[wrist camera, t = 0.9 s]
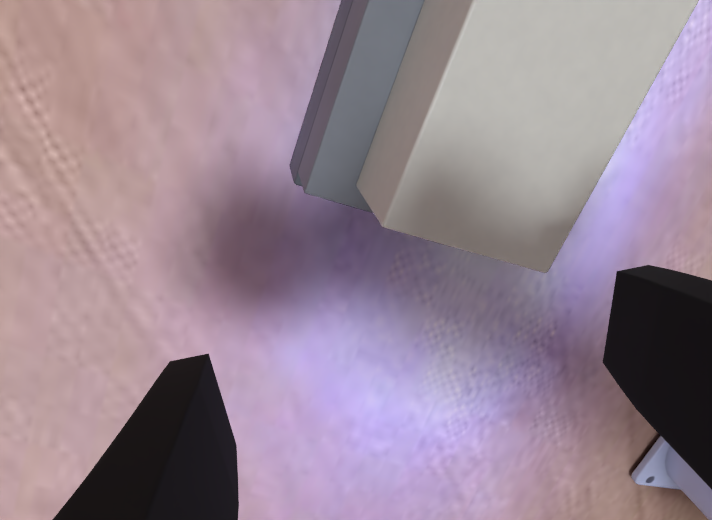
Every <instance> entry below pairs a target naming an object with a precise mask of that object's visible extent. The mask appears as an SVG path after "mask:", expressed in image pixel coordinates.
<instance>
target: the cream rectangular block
mask: <svg viewBox="0 0 712 520" xmlns="http://www.w3.org/2000/svg"><path fill="white" fill-rule="evenodd" d="M698 1H699V0H425V1H424V3H423V6H422V9H421V12H420V14H419V17H418V20H417V22H416V25H415V28H414V30H413V33H412V36H411V39H410V41H409V44H408V47H407V49H406V52H405V55H404V57H403V60H402V63H401V65H400V68H399V71H398V74H397V76H396V79H395V82H394V84H393V87H392V90H391V92H390V95H389V98H388V101H387V103H386V106H385V109H384V111H383V114H382V117H381V119H380V122H379V125H378V127H377V130H376V133H375V136H374V138H373V141H372V144H371V146H370V149H369V152H368V154H367V157H366V160H365V163H364V165H363V168H362V171H361V173H360V176H359V179H358V181H357V184H356V186H357V188H358V189H359V191H360V193H361V194H362V196H363V197H364V199H365V200H366V202H367V204H368V205H369V207H370V208H371V210H372V211H373V213H374V215H375V216H376V218H377V219H378V221H379V223H380V224H381V226H382V227H383V228H387V229H390V230H394V231H397V232H401V233H404V234H408V235H411V236H415V237H419V238H422V239H426V240H429V241H433V242H436V243H440V244H443V245H447V246H451V247H454V248H458V249H461V250H465V251H468V252H472V253H475V254H479V255H483V256H486V257H490V258H493V259H497V260H500V261H504V262H507V263H511V264H515V265H518V266H522V267H525V268H529V269H532V270H536V271H539V272H543V273H547V272H548V270H549V268H550V267H551V265H552V263H553V261H554V259H555V258H556V256H557V254H558V252H559V250H560V249H561V247H562V245H563V243H564V241H565V240H566V238H567V236H568V234H569V232H570V231H571V229H572V227H573V225H574V224H575V222H576V220H577V218H578V216H579V215H580V213H581V211H582V209H583V207H584V206H585V204H586V202H587V200H588V198H589V197H590V195H591V193H592V191H593V189H594V188H595V186H596V184H597V182H598V180H599V179H600V177H601V175H602V173H603V171H604V170H605V168H606V166H607V164H608V163H609V161H610V159H611V157H612V155H613V154H614V152H615V150H616V148H617V146H618V145H619V143H620V141H621V139H622V137H623V136H624V134H625V132H626V130H627V128H628V127H629V125H630V123H631V121H632V119H633V118H634V116H635V114H636V112H637V110H638V109H639V107H640V105H641V103H642V101H643V100H644V98H645V96H646V94H647V93H648V91H649V89H650V87H651V85H652V84H653V82H654V80H655V78H656V76H657V75H658V73H659V71H660V69H661V67H662V66H663V64H664V62H665V60H666V58H667V57H668V55H669V53H670V51H671V49H672V48H673V46H674V44H675V42H676V40H677V39H678V37H679V35H680V33H681V32H682V30H683V28H684V26H685V24H686V23H687V21H688V19H689V17H690V15H691V14H692V12H693V10H694V8H695V6H696V5H697V3H698Z"/></svg>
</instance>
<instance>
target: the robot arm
mask: <svg viewBox="0 0 712 520" xmlns="http://www.w3.org/2000/svg"><path fill="white" fill-rule="evenodd" d="M603 363H604V365H605V366H606V368H607V369H608V370H609V372H610V373H611V375H612V376H613V378H614V379H615V381H616V382H617V384H618V385H619V386H620V388H621V389H622V391H623V392H624V393H625V394H626V396H627V397H628V398H629V400H630V401H631V402H632V404H633V405H634V406H635V408H636V409H637V410H638V411H639V412H640V414H641V415H642V416H643V417H644V418H645V419H646V420H647V421H648V422H649V423H650V425H651V426H652V427H653V428H654V429H655V430H656V431H657V432H658V433H659V434H660V435H661V436H660V437H659V438H658V440H657V441H656V442H655V444H654V445H653V446H652V448H651V449H650V450H649V452H648V453H647V454H646V456H645V457H644V458H643V460H642V461H641V462H640V464H639V465H638V466H637V468H636V469H635V470H634V472H633V473H632V477H631V478H632V479H633V480H634V482H635V483H636V484H639V485H647V486H656V487H664V488H672V489H680V490H682V491H683V492H684V493H685V494H686V495H687V496H688V498H689V499H690V500H691V501H692V502H693V503H694V504H695V505H696V506H697V507H698V508H699V510H700V511H701V512H702V513H703V514H704V515H705V516H706V517H707V518H708V519H709V520H712V281H711V280H708V279H704V278H700V277H697V276H693V275H689V274H686V273H682V272H678V271H674V270H669V269H665V268H660V267H655V266H650V265H646V266H642V267H637V268H632V269H627V270H622V271H617V275H616V281H615V287H614V294H613V300H612V307H611V313H610V319H609V326H608V332H607V339H606V345H605V351H604V358H603ZM238 506H239V502H238V472H237V450H236V442H235V439H234V436H233V433H232V429H231V426H230V423H229V419H228V416H227V413H226V410H225V406H224V403H223V400H222V396H221V393H220V390H219V387H218V383H217V380H216V377H215V373H214V370H213V367H212V364H211V360H210V357H209V354H205V355H200V356H195V357H190V358H185V359H180V360H175V361H170V362H169V364H168V365H167V366H166V368H165V369H164V370H163V372H162V373H161V374H160V376H159V377H158V378H157V380H156V381H155V383H154V384H153V386H152V387H151V388H150V390H149V391H148V393H147V394H146V396H145V397H144V398H143V400H142V401H141V403H140V404H139V406H138V407H137V409H136V410H135V411H134V413H133V414H132V416H131V417H130V418H129V420H128V421H127V423H126V424H125V426H124V427H123V428H122V430H121V431H120V433H119V434H118V435H117V437H116V438H115V439H114V441H113V442H112V443H111V445H110V446H109V447H108V449H107V450H106V452H105V453H104V454H103V456H102V457H101V458H100V460H99V461H98V462H97V464H96V465H95V466H94V468H93V469H92V471H91V472H90V473H89V475H88V476H87V477H86V478H85V480H84V481H83V482H82V484H81V485H80V486H79V488H78V489H77V490H76V491H75V493H74V494H73V495H72V496H71V498H70V499H69V500H68V501H67V503H66V504H65V505H64V506H63V508H62V509H61V510H60V511H59V513H58V514H57V515H56V516H55V517H54V519H53V520H238Z"/></svg>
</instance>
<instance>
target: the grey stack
mask: <svg viewBox="0 0 712 520" xmlns="http://www.w3.org/2000/svg"><path fill="white" fill-rule="evenodd" d="M424 1H425V0H341V4H340V7H339V10H338V13H337V16H336V20H335V23H334V26H333V29H332V32H331V35H330V39H329V42H328V45H327V48H326V51H325V54H324V58H323V61H322V64H321V67H320V70H319V74H318V77H317V80H316V83H315V86H314V89H313V93H312V96H311V99H310V102H309V105H308V109H307V112H306V115H305V118H304V121H303V124H302V128H301V131H300V134H299V137H298V140H297V144H296V147H295V150H294V153H293V156H292V159H291V163H290V170H291V173H292V177H293V180H294V183H295V184H296V185H299V186H302V187H303V189H304V192H305V193H306V194H309V195H313V196H316V197H320V198H323V199H327V200H330V201H333V202H337V203H340V204H344V205H347V206H351V207H354V208H358V209H361V210H364V211H368V212H371V213H373V211H372V210H371V208H370V207H369V205H368V204H367V202H366V200H365V199H364V197H363V196H362V194H361V193H360V191H359V189H358V188H357V186H356V184H357V181H358V179H359V176H360V173H361V171H362V168H363V165H364V163H365V160H366V157H367V154H368V152H369V149H370V146H371V144H372V141H373V138H374V136H375V133H376V130H377V127H378V125H379V122H380V119H381V117H382V114H383V111H384V109H385V106H386V103H387V101H388V98H389V95H390V92H391V90H392V87H393V84H394V82H395V79H396V76H397V74H398V71H399V68H400V65H401V63H402V60H403V57H404V55H405V52H406V49H407V47H408V44H409V41H410V39H411V36H412V33H413V30H414V28H415V25H416V22H417V20H418V17H419V14H420V12H421V9H422V6H423V3H424Z"/></svg>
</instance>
